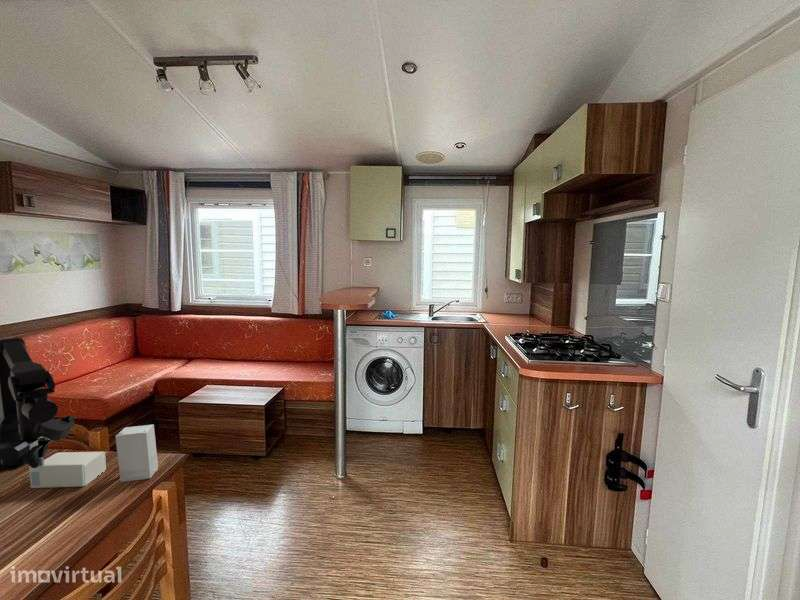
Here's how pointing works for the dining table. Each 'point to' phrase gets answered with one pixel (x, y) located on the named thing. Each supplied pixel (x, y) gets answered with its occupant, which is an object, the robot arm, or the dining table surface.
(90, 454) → the carton
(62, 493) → the dining table surface
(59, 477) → the pale grey panel
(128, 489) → the dining table surface
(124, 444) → the skincare box
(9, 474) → the dining table surface
